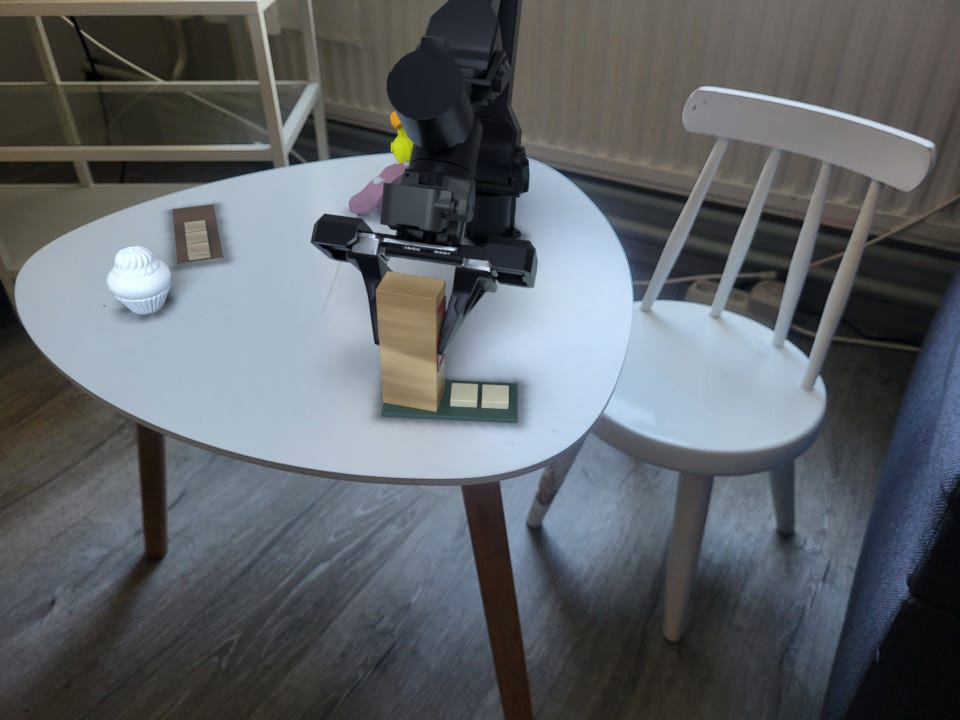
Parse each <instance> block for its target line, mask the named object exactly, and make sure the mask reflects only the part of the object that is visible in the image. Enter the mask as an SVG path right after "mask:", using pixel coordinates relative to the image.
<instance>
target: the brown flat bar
mask: <svg viewBox="0 0 960 720" xmlns="http://www.w3.org/2000/svg"><path fill="white" fill-rule="evenodd" d="M172 221H173V222H172V223H173V232H174V242H175V253H176V255H175V256H176V264H177V265H181V264H188V263H195V262H196V263H197V262H203V261H209V260H217V259H223V258H224V254H223V248H222V244H221V237H220V231H219V227H218V220H217V216H216V210H215V205H214V203H213V204H211V203H210V204H204V205H203V204H202V205H195V206H187V207H179V208H172Z"/></svg>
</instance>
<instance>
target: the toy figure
mask: <svg viewBox="0 0 960 720" xmlns="http://www.w3.org/2000/svg"><path fill="white" fill-rule="evenodd" d="M389 119H390V125H391V126H392V128H393V129H394V130H396V131H397V136H396V137H395V139H394V140H393V142H390V153H393V156H394V157H395V159H396V161H397V162H398V164H403V163H404V162H405V161H406V160H408V162H409V163H410V158H411V153H412V147H413V142H412V141H411V140H410V138H409V137H408V136H407V134H406V132H405V130H404V128H403V126H402V124H401V122H400V120H399V118H398V116H397V114H396V112H395V110H393V111H392V113H391V114H390V117H389Z"/></svg>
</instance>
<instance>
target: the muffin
mask: <svg viewBox="0 0 960 720" xmlns="http://www.w3.org/2000/svg"><path fill="white" fill-rule="evenodd" d="M114 257H115V258H114V259H113V260H114V264H113V266H112V269H110V271H109V273H108V274H107V276H106V285H107V288H108V290H109V291H110V292H111V294H113V296H114V297H115V298H116V300H118V301H119V302H120V303H122V304H123V305H124V306H125V307H126V308H128V309H129V310H130V311H131V312H132V313H134V314H136V315H142V316H143V315H145V316H146V315H150V314H153V313H156V312H159V311H160V310H161V309H162V308H163V305H165V303H166V300H167V297H168V294H169V291H170V288H171V281H172V272H171V269H170V267H169V266H168V264H166V262H164V261H162V260H161V259H158V258H157V257H155V256H154V255H153V253H152V251H151V250H150V249H149V248H147V247H144V246H142V245H131V246H128V247H123V248H122V249H120V250H119V251H118V252H117V253H116V254H115V256H114Z"/></svg>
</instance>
